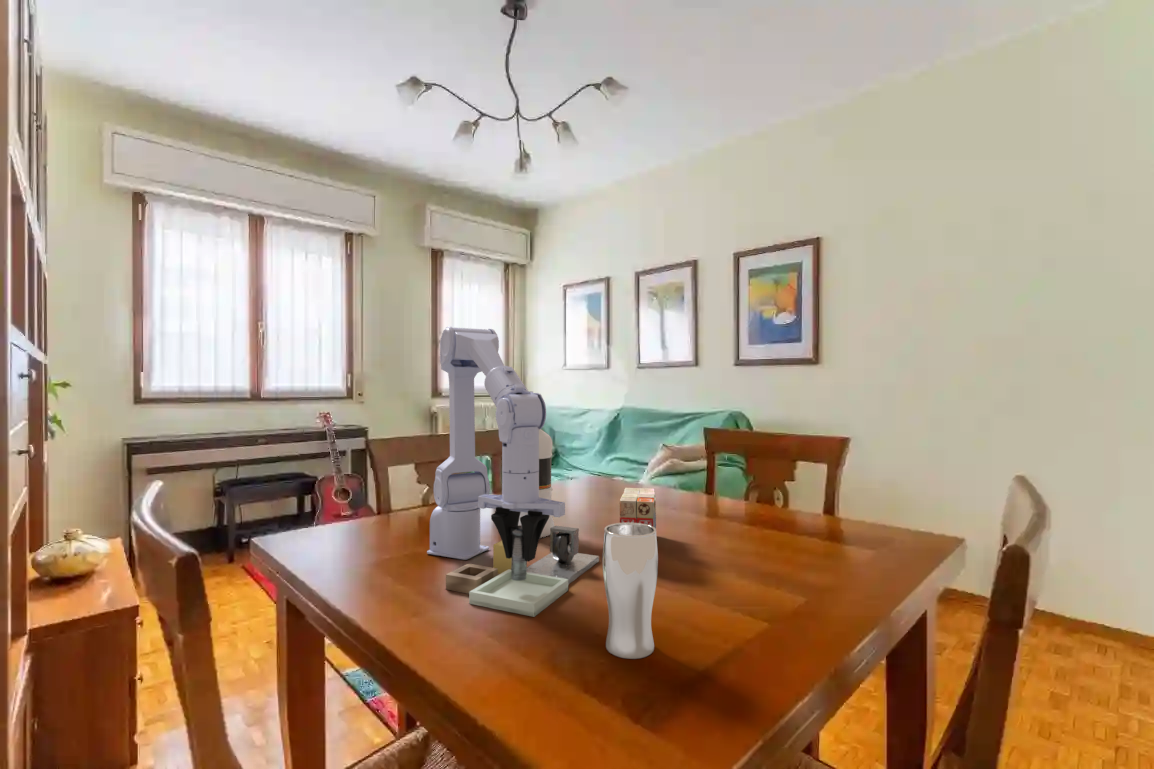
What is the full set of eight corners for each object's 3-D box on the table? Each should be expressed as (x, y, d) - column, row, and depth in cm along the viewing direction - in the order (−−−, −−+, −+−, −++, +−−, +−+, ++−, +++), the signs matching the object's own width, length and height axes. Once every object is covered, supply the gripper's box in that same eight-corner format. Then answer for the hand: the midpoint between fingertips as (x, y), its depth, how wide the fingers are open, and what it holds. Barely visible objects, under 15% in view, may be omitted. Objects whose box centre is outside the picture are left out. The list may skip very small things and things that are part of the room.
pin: (505, 579, 86) (507, 528, 86) (515, 573, 88) (516, 524, 88) (522, 582, 84) (524, 531, 84) (531, 576, 87) (533, 527, 87)
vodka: (524, 541, 116) (525, 399, 116) (505, 532, 124) (505, 398, 124) (562, 535, 121) (562, 398, 121) (541, 526, 129) (541, 397, 129)
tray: (469, 603, 84) (469, 591, 84) (508, 579, 94) (508, 569, 94) (534, 616, 79) (534, 604, 79) (568, 590, 89) (568, 579, 89)
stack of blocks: (627, 535, 122) (627, 479, 122) (656, 536, 121) (656, 480, 121) (619, 566, 101) (619, 499, 101) (653, 568, 100) (653, 500, 100)
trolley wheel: (515, 579, 94) (515, 538, 94) (556, 555, 107) (556, 518, 107) (563, 588, 90) (563, 545, 90) (598, 561, 104) (599, 524, 104)
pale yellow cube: (493, 572, 98) (493, 544, 98) (505, 566, 101) (505, 538, 101) (512, 576, 96) (512, 547, 96) (524, 569, 99) (524, 541, 99)
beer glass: (599, 635, 73) (599, 522, 73) (651, 633, 74) (651, 521, 74) (606, 662, 66) (606, 537, 66) (663, 660, 67) (664, 535, 67)
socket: (445, 589, 90) (445, 574, 90) (468, 577, 95) (468, 563, 95) (476, 595, 87) (476, 580, 87) (497, 582, 92) (497, 568, 92)
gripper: (466, 471, 86) (466, 559, 86) (549, 478, 80) (549, 572, 80) (492, 465, 92) (492, 546, 92) (571, 471, 86) (570, 558, 86)
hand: (520, 558), depth 86 cm, fingers closed on pin, 3 cm apart
